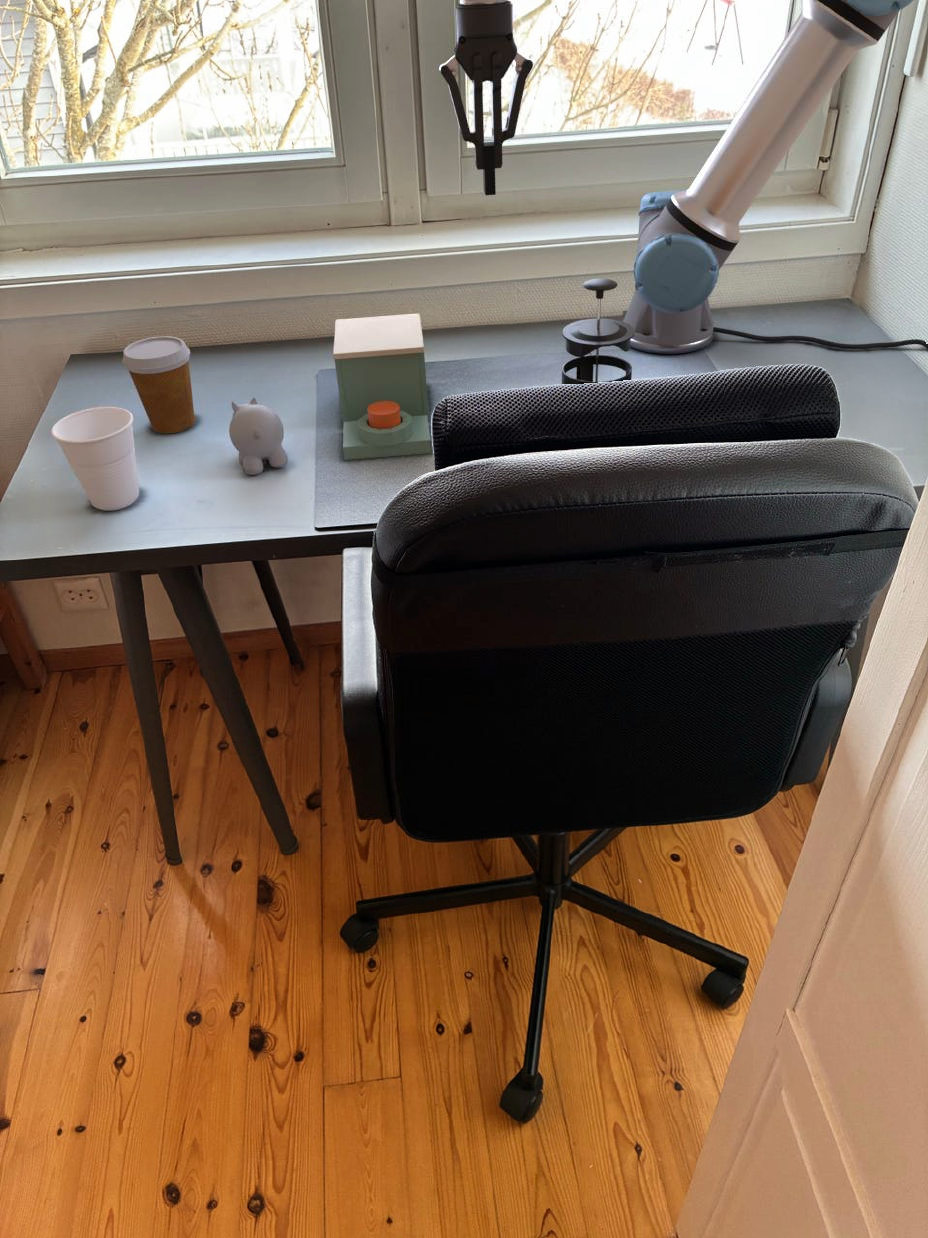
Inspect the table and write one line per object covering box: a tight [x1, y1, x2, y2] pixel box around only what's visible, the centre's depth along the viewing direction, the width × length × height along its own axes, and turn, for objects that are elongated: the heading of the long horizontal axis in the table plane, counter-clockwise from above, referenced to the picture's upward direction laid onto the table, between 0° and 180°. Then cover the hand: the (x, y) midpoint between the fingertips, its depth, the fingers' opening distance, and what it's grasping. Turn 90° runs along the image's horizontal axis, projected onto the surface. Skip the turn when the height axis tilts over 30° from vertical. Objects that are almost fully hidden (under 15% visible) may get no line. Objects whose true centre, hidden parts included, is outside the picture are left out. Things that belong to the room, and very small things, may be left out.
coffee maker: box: [334, 351, 430, 426], centre depth 140 cm, size 13×13×11 cm
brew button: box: [367, 401, 401, 429], centre depth 129 cm, size 4×4×2 cm
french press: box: [561, 277, 634, 385], centre depth 122 cm, size 12×9×23 cm
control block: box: [342, 411, 432, 461], centre depth 132 cm, size 12×9×4 cm
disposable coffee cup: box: [121, 335, 196, 434], centre depth 138 cm, size 10×10×12 cm
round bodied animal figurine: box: [228, 397, 289, 476], centre depth 129 cm, size 7×12×8 cm, turn 23°
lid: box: [332, 312, 425, 360], centre depth 136 cm, size 14×13×1 cm
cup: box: [50, 406, 140, 512], centre depth 121 cm, size 10×10×11 cm
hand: (489, 192), depth 138 cm, fingers closed
